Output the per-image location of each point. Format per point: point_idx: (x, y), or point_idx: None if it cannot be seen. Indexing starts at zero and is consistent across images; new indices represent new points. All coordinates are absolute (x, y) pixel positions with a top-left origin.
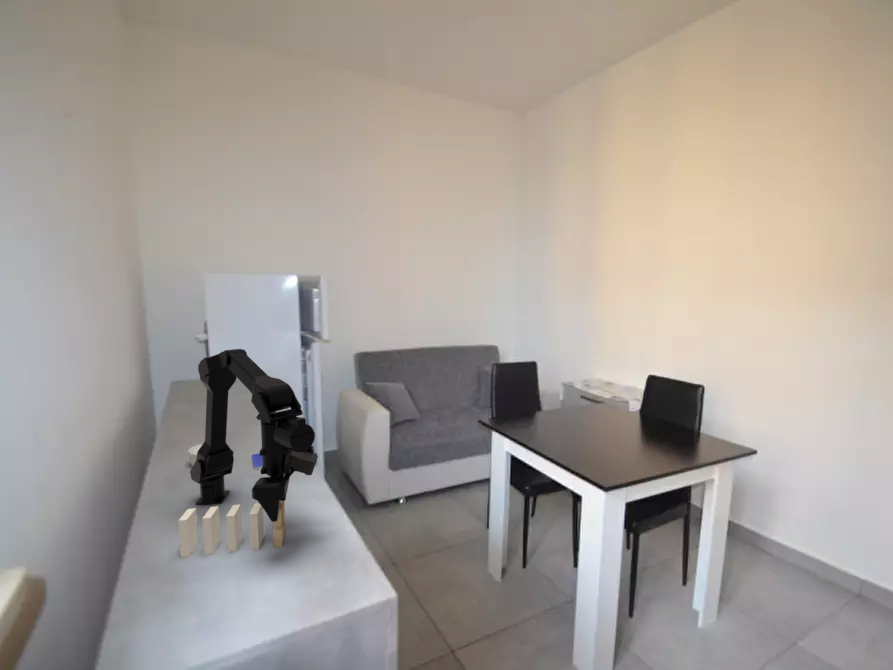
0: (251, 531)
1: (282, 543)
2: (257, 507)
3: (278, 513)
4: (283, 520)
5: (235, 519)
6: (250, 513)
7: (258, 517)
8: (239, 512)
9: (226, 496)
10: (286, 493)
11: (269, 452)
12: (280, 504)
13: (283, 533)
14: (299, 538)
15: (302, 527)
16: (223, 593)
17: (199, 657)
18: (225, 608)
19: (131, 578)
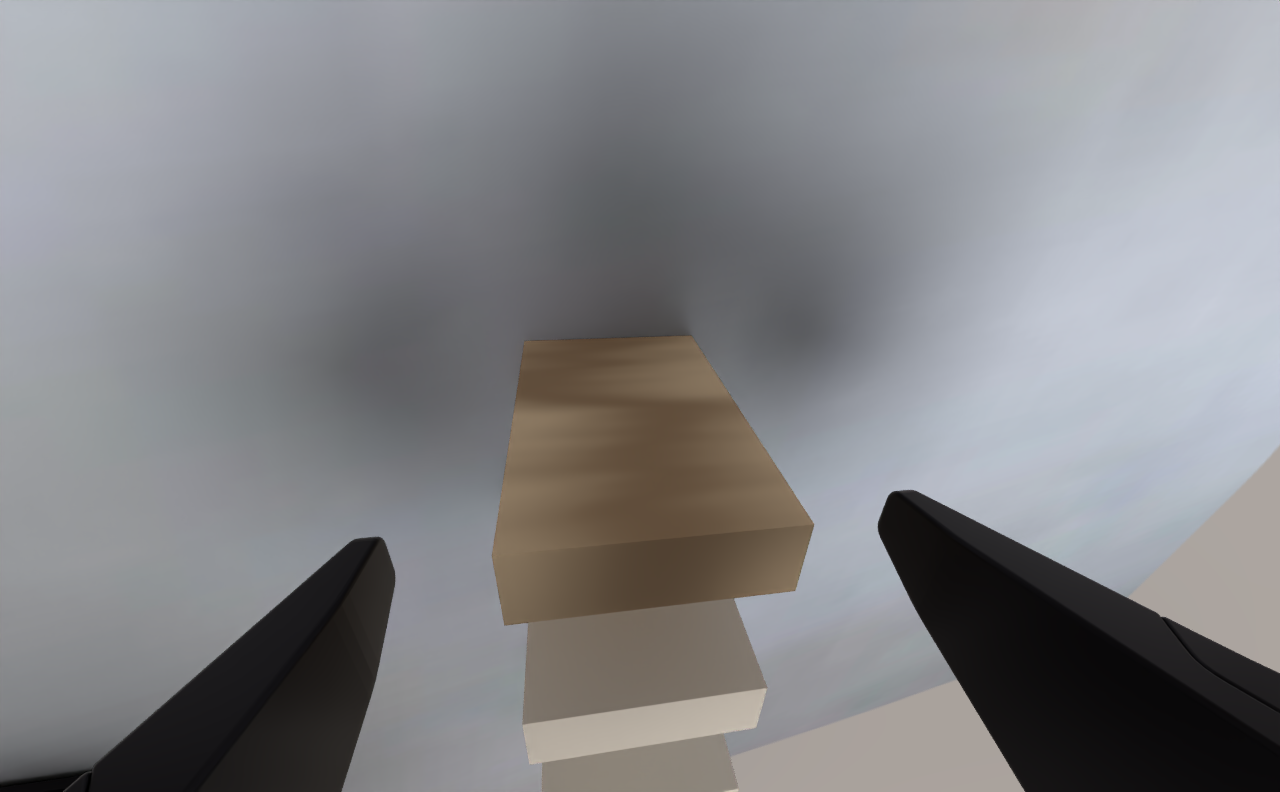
0: None
1: (660, 338)
2: (632, 723)
3: (968, 539)
4: (604, 415)
5: (696, 738)
6: (743, 725)
7: (710, 634)
8: (589, 756)
9: (33, 783)
10: (307, 610)
11: None
12: (609, 569)
13: (617, 360)
14: (604, 220)
15: (417, 219)
16: (981, 492)
17: (1263, 450)
18: (1082, 455)
19: (747, 743)
